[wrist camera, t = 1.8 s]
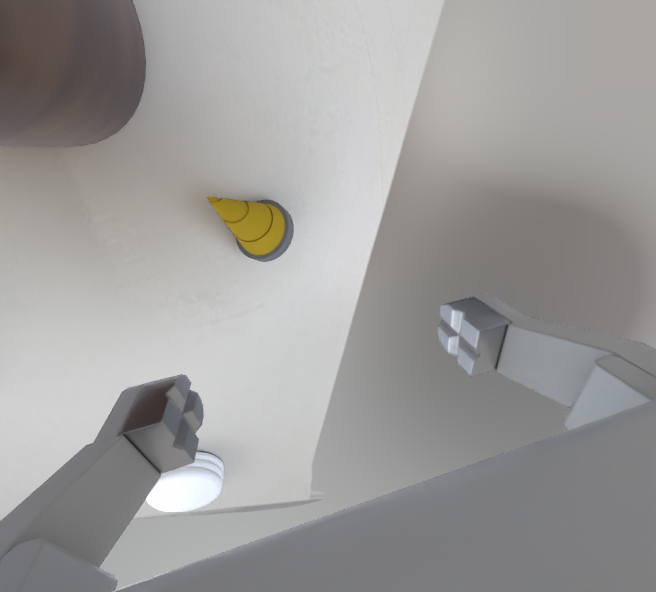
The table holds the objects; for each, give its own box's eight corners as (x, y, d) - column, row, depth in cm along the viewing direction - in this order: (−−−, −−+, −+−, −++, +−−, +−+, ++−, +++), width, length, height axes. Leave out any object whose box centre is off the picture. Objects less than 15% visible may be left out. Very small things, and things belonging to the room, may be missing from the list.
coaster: (236, 456, 42) (235, 480, 39) (205, 491, 44) (202, 516, 41) (171, 443, 37) (163, 469, 34) (141, 483, 40) (131, 510, 37)
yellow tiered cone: (253, 262, 27) (168, 231, 18) (266, 212, 28) (188, 156, 18) (298, 272, 26) (229, 244, 16) (312, 219, 26) (251, 160, 16)
